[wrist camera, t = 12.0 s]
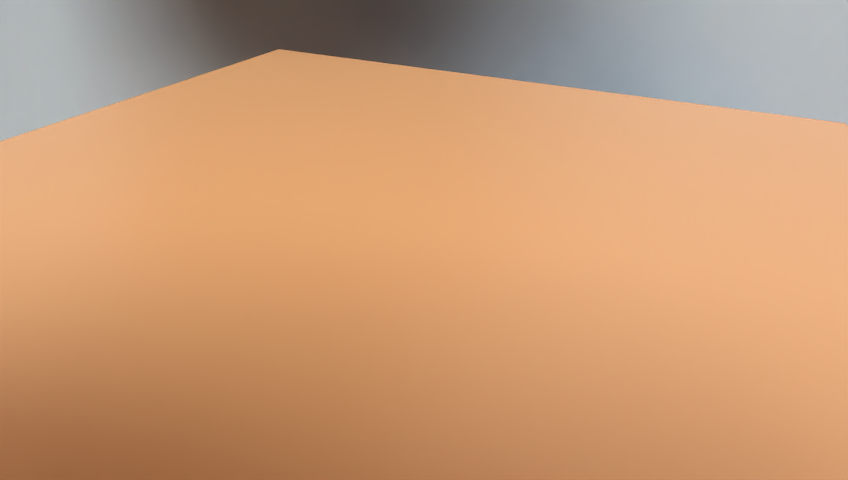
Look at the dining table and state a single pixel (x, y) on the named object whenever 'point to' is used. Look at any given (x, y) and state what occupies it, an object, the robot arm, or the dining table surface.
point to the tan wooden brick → (421, 283)
